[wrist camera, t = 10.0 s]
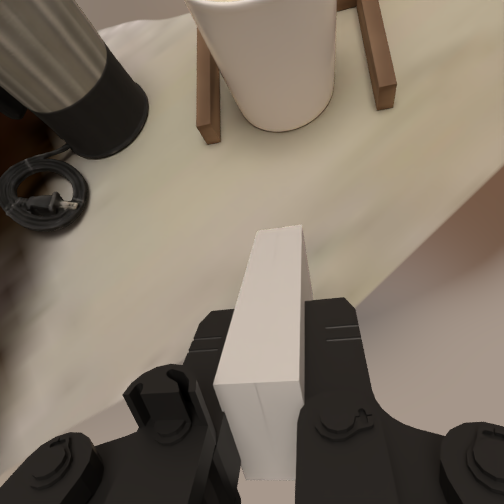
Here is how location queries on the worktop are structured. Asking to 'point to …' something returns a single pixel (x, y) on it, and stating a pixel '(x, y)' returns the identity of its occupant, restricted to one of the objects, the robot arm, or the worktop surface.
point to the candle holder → (272, 56)
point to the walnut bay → (375, 55)
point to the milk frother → (62, 100)
